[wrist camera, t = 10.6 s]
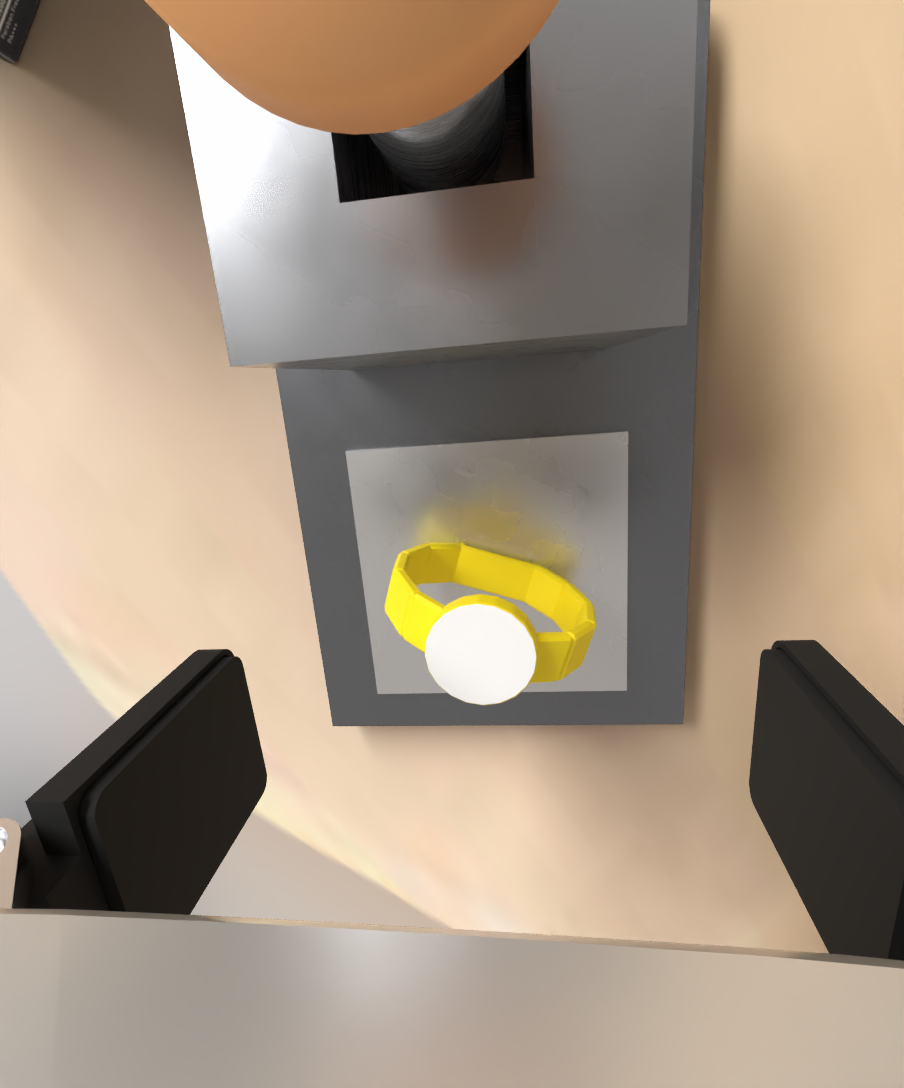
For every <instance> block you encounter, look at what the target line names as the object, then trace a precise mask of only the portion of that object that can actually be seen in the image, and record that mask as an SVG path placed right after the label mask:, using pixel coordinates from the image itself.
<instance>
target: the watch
mask: <svg viewBox="0 0 904 1088" xmlns="http://www.w3.org/2000/svg"><path fill="white" fill-rule="evenodd" d="M448 582H453V583H456V584H460V585H464V586H467V587H471V588H475V589H478V590H482V591H486V592H489V593H493V594H497V595H501V596H504V597H508V598H512V599H515V600H519V601H523V602H525V603H526V604H528V605H530V606H531V607H533V608H534V609H536V610H538V611H539V612H541V613H542V614H544V615H545V616H547V617H549V618H550V619H552V620H554V622H555V623H556V624H557V625H558V627H559V628H560V629H561V630H562V631H563V632H536V631H535V629H534V627H533V625H532V624H531V622H530V620H529V618H528V617H527V615H526V614H525V613H523V612H522V611H521V610H520V609H519V608H518V607H517V606H516V605H514V604H513V603H511V602H509V601H506V600H504V599H502V598H500V597H497V596H491V595H484V594H476V595H469V596H463V597H461V598H459V599H457V600H455V601H453V602H451V603H449V604H447V605H446V606H444V605H443V604H441V603H439V602H437V601H436V600H434V599H432V598H431V597H429V596H427V595H425V594H424V593H422V592H420V590H419V589H418V588H417V587H416V586H417V585H419V584H430V583H448ZM384 608H385V612H386V614H387V615H388V617H389V618H390V620H391V622H392V623H393V625H394V626H395V628H396V630H397V631H398V633H399V634H400V636H401V637H404V639H405V641H407V642H408V643H410V644H412V645H413V646H415V647H416V648H418V649H419V650H421V651H422V652H424V653H425V658H426V662H427V666H428V669H429V672H430V673H431V675H432V676H433V678H434V679H435V681H436V683H437V684H438V685H439V686H440V687H441V688H443V689H444V690H445V691H446V692H447V693H448V694H450V695H451V696H453V697H455V698H458V699H460V700H462V701H464V702H467V703H472V704H479V705H490V704H499V703H502V702H505V701H507V700H509V699H512V698H514V697H516V696H517V695H518V694H519V693H521V692H522V691H523V690H524V689H525V688H526V687H527V686H528V685H529V683H541V682H554V681H557V680H561V679H563V678H564V677H566V676H567V675H569V674H570V673H571V672H573V671H574V670H576V669H577V668H578V667H580V666H581V665H582V663H583V660H584V658H585V655H586V652H587V650H588V647H589V644H590V642H591V639H592V636H593V634H594V631H595V628H596V626H597V624H596V616H595V609H594V606H593V605H592V603H591V601H590V600H589V599H587V598H586V597H585V596H584V595H583V594H582V593H581V592H580V591H579V590H578V589H577V588H576V587H575V586H574V585H573V584H572V583H569V581H568V580H566V579H564V578H563V577H561V576H559V575H557V574H555V573H554V572H552V571H550V570H548V569H547V568H545V567H543V566H541V565H536V564H533V563H529V562H525V561H522V560H518V559H514V558H510V557H507V556H503V555H499V554H496V553H492V552H488V551H485V550H481V549H477V548H474V547H470V546H466V545H465V543H462V542H460V544H459V543H427V544H425V543H424V544H421V545H418V546H416V547H413V548H410V549H407V550H404V551H402V552H401V553H400V554H398V557H397V560H396V562H395V565H394V568H393V572H392V576H391V580H390V585H389V589H388V593H387V598H386V602H385V607H384Z"/></svg>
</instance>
